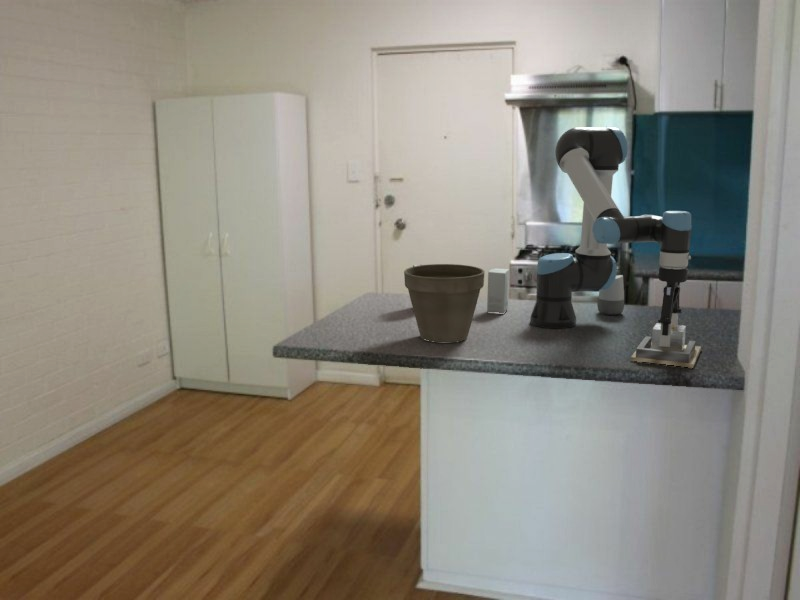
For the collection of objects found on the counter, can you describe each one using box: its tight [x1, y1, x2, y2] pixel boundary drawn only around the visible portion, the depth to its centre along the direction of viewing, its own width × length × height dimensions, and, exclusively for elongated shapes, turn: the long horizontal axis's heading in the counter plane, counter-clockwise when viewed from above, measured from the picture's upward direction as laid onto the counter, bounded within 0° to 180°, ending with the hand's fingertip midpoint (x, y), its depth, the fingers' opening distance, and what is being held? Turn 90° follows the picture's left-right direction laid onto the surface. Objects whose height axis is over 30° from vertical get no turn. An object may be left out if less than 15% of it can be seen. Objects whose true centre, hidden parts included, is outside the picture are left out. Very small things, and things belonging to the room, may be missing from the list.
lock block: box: [651, 322, 687, 352], centre depth 206 cm, size 8×8×7 cm
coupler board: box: [630, 335, 702, 369], centre depth 204 cm, size 16×20×4 cm
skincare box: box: [486, 267, 510, 313], centre depth 261 cm, size 8×7×16 cm
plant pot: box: [403, 263, 485, 343], centre depth 224 cm, size 25×25×22 cm
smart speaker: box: [596, 274, 625, 316], centre depth 257 cm, size 10×9×14 cm
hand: (668, 340), depth 206 cm, fingers open, 13 cm apart
